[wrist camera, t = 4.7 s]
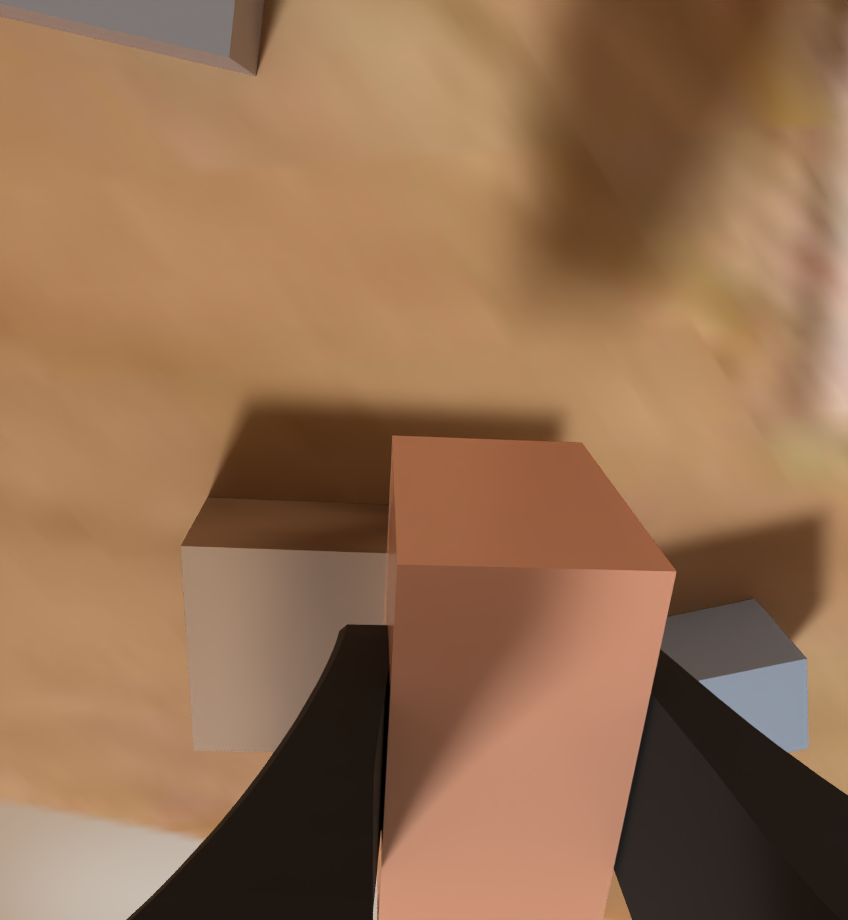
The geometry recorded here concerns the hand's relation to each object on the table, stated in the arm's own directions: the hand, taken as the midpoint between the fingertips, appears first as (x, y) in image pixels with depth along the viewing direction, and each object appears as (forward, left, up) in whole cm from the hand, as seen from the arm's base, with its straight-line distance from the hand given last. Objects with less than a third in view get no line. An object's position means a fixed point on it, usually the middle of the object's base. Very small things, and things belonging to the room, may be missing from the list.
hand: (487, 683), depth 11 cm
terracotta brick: (0, 0, -2) cm, 2 cm away
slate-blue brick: (-7, +6, -9) cm, 13 cm away
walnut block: (+2, +4, -9) cm, 11 cm away
